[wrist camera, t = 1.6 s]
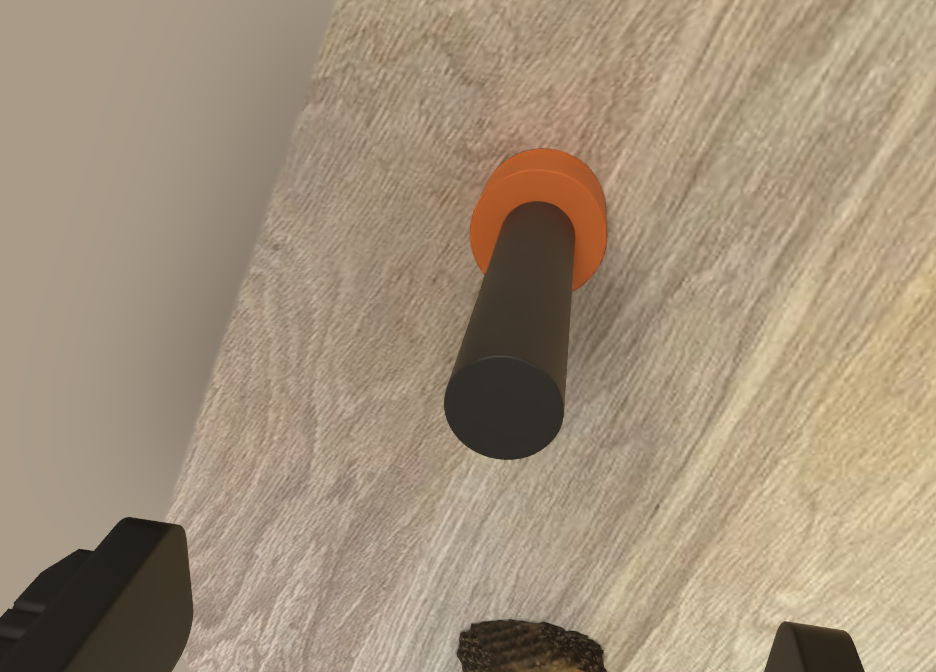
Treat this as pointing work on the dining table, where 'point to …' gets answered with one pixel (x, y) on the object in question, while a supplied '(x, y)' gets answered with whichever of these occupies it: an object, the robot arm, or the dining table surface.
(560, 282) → the sponge stick
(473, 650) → the nut kernel
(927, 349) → the dining table surface
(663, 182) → the dining table surface
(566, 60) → the dining table surface
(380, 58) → the dining table surface
